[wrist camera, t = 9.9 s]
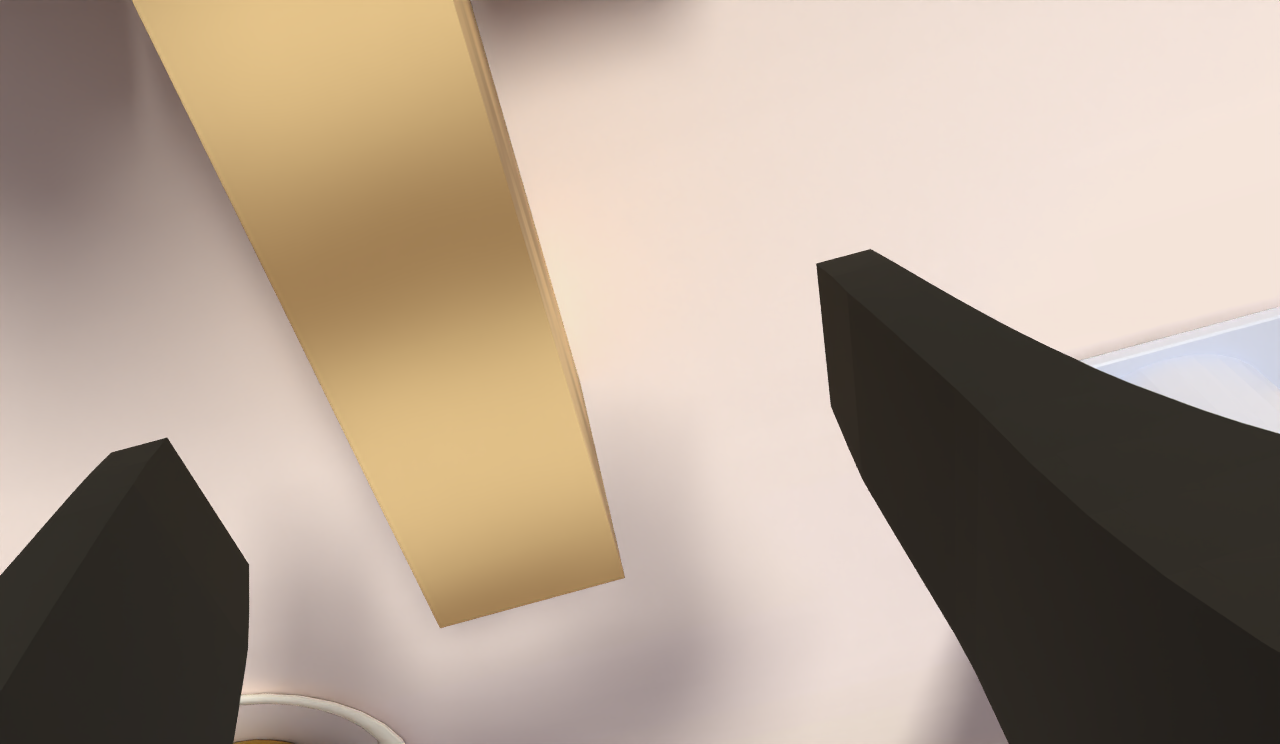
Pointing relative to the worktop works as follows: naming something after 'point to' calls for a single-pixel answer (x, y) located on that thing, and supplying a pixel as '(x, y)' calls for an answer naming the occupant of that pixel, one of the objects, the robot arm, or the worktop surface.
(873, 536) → the worktop surface
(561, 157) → the worktop surface
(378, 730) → the hamburger
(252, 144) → the rail
